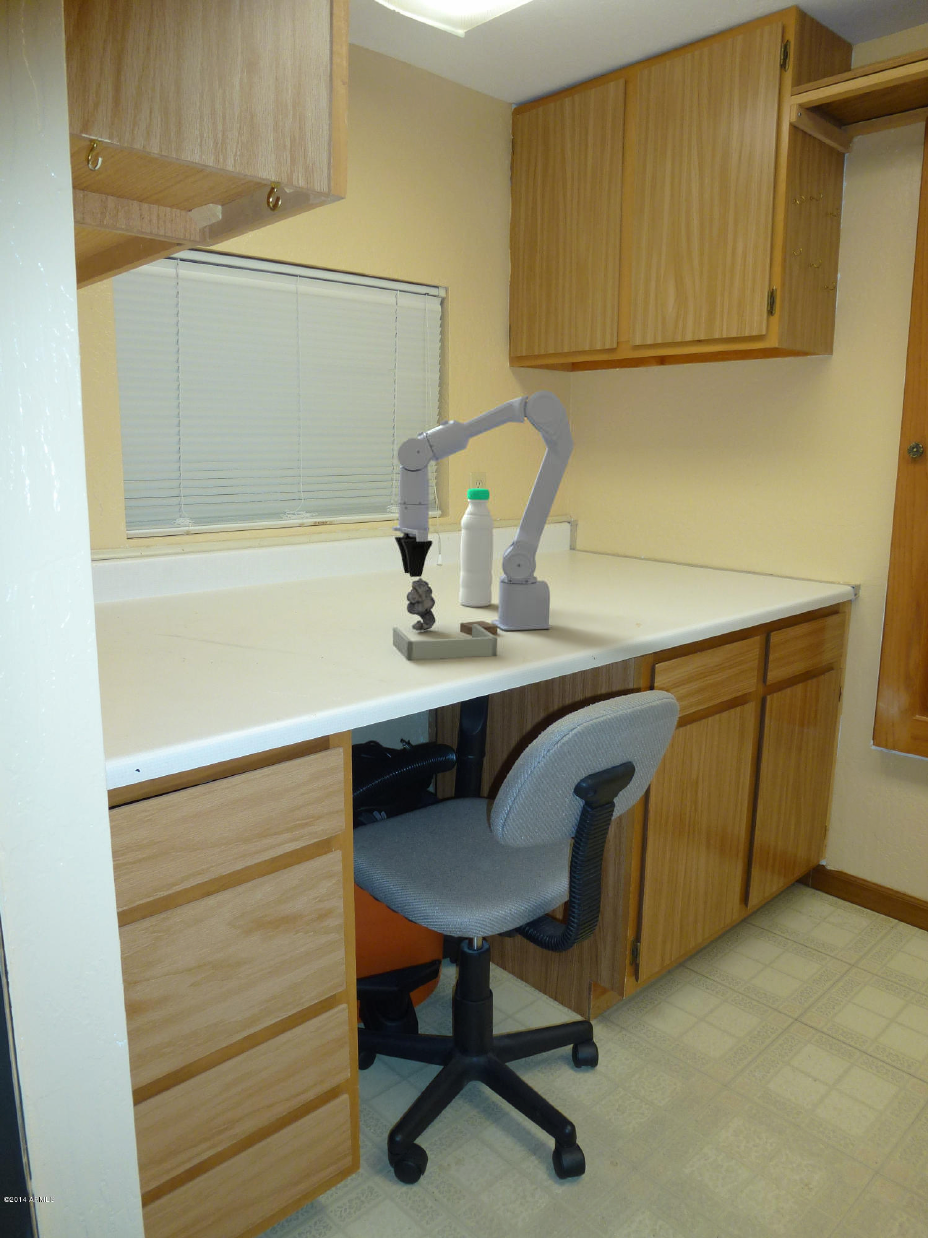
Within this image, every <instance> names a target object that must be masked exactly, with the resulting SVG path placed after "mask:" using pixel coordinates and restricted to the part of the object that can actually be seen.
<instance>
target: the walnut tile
mask: <svg viewBox="0 0 928 1238" xmlns="http://www.w3.org/2000/svg"><path fill="white" fill-rule="evenodd" d="M472 624H477V625H479V626H480V627H482V628H483V629H485V630H486V631H488V632H489V633H491V634H492V635H494V636H495V635H498V628H499V627H498V626H497V625H495V624H493V623H492V622H488V621H486V620H485V621H484V620H477V621H467V622H460V623H459V625H460V626H459V631H460V633H462V634H466V635H468V636H471V637H472Z"/></svg>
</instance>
